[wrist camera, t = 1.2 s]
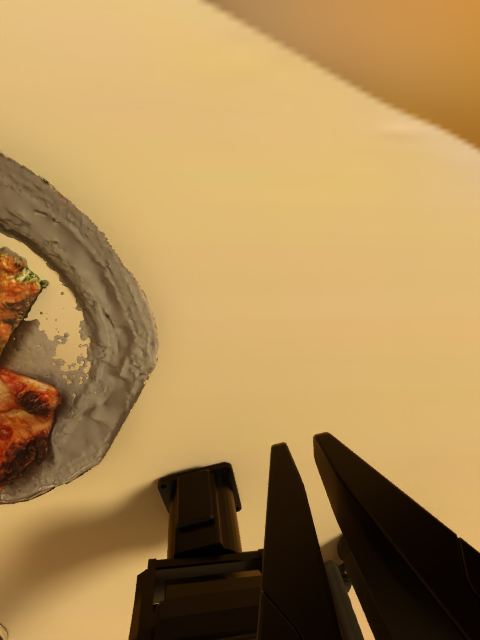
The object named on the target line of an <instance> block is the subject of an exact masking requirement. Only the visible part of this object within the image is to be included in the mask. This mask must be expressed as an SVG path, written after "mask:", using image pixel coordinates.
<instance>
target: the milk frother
mask: <svg viewBox="0 0 480 640" xmlns="http://www.w3.org/2000/svg"><path fill="white" fill-rule="evenodd" d="M338 555H339V557H340V559H341V560H342V561H343V562H344V563H343V564H341V565H340V566H339V567H338V566H337V565H336V564H335V563H334V562H333V561H330V560H329V561H325V562H324V567H325V571H326V575H327V579H328V583H329V587H330V591H331V595H332V599H333V603H334V607H335V611H336V615H337V619H338V623H339V627H340V631H341V635H342V639H343V640H364V638H363V635H362V632H361V629H360V626H359V624H358V621H357V618H356V615H355V613H354V611H353V608H352V605H351V601H350V598H349V596H348V592H349V590H350V588H351V585H352V586H353V588H354V590H355V592H356V595H357V597H358V599H359V602H360V604H361V607H362V609H363V611H364V613H365V616H366V618H367V621H368V623H369V626H370V628H371V630H372V633H373V635H374V638H375V640H394V639H393V637H392V635H391V633H390V631H389V629H388V627H387V625H386V623H385V621H384V619H383V616H382V614H381V612H380V610H379V608H378V606H377V604H376V602H375V600H374V598H373V596H372V594H371V592H370V589H369V587H368V585H367V583H366V581H365V579H364V577H363V575H362V573H361V571H360V569H359V567H358V565H357V562H356V560H355V558H354V556H353V554H352V552H351V550H350V548H349V546H348V544H347V542H346V540H345V537H344V538H343V540H342V541H341V542H340V544H339V546H338ZM345 570H346V572H347V574H346V573H343V572H344V571H345Z"/></svg>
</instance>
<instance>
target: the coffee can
mask: <svg viewBox="0 0 480 640" xmlns="http://www.w3.org/2000/svg"><path fill="white" fill-rule="evenodd" d="M7 639H8V633H7V631H6V630H5V628H4V627H3V626H2V625H1V624H0V640H7Z"/></svg>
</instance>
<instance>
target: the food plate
mask: <svg viewBox="0 0 480 640" xmlns="http://www.w3.org/2000/svg"><path fill="white" fill-rule="evenodd" d="M42 178H43V177H42ZM42 178H41V177H40V176H37V175H35V174H34V173H33V172H32V171H31V170H29V169H27V167H25V166H24V165H23V166H21V165H20V164H19V163H17V162H16V161H14V160H13V159H12V158H9V157H8V156H6V155H4V154H2V153H1V152H0V232H1V233H3V234H4V235H6V236H7V237H10V238H15V239H16V240H18V241H20V242H22V243H24V244H25V245H27V246H28V247H29V248H30V249H31V250H32V251H33V252H34V253H35V254H37V255H38V256H40V257H41V258H43V259H44V261H47V263H46V265H47V266H48V267H49V268H50V269H52V270H54V271H56V272H57V273H59V274H60V282H62V283H63V284H62V285H64V286H66V287H68V288H70V289H71V290H72V291H73V292H74V295H75V297H76V303H77V307H76V308H75V309H77V310H78V311H82V310H83V311H82V312H83V316H84V319H85V320H83V321H80V325H79V327H81V330H79V333H80V334H81V335H80V337H81V340H83V341H84V340H86V339H87V337H89V338H90V339H91V343H89V344H90V345H89V347H88V348H87V358H84V357H83V356H81V357H79V356H78V357H77V363H79V364H80V363H81V361H82V360H83V361H84V365H83V366H80V367H79V369H78V371H69V372H63V371H61V370H60V367H61V366H62V365H64V363H65V361H64V360H62V359H53V358H52V357H54V356H55V355H56V347H57V345H58V344H65V342H66V341H67V336H69V333H65V334H64V336H59V335H56V336H55V340H54V341H51V340H49V339H48V338H47V335H46V334H45V333H44V330H42V331H39V330H38V328H39V325H40V322H39V321H38V320H37V319H35V320H32V321H25V320H24V318H27V317H28V316H27V315H28V313H29V312H30V310H31V307H32V305H33V304H34V303H35V301H36V300H37V297H38V295H39V294H40V293H41V292H42V289H43V288H46V287H47V286H48V284H49V283H50V282H49V281H47V280H44V281H42V280H40V278H39V277H38V276H37V275H36V274H34V273H33V272H32V271H30V270H29V269H28V267H27V261H26V259H25V258H23V257H21V256H19V255H18V254H17V253H15V252H13V251H11V250H10V249H9V248H7V247H3V248H1V249H0V505H1V504H14V503H18V502H25V501H29V500H31V499H34V498H36V497H39V496H41V495H43V494H45V493H47V492H49V491H51V490H52V489H54V488H55V487H56V486H60V485H62V484H68V483H70V482H71V481H73V480H75V479H76V478H78V477H80V476H81V475H83V474H84V473H85V472H87V471H88V470H90V469H91V468H93V467H94V466H96V465H98V464H99V463H100V462H101V461H102V459H103V458H104V456H105V455H106V452H108V450H109V448H110V446H111V444H112V443H113V440H114V439H115V437H116V436H117V434H118V432H119V431H120V428H121V426H122V424H123V423H124V422H125V420H126V418H127V416H128V415H129V413H130V410H131V409H132V407H133V405H134V403H136V401H137V399H138V397H139V395H140V393H141V391H142V389H143V388H144V386H145V385H144V383H143V382H144V381H145V380H146V379H147V380H148V378H149V377H150V376H148V375H149V373H152V372H151V370H152V369H153V370H154V368H155V366H156V363H157V361H158V358H157V356H158V354H157V351H158V339H157V327H156V326H155V325H156V324H155V319H154V317H153V312H152V310H151V308H150V306H149V304H148V302H147V298H146V295H145V293H144V292H143V290H142V289H140V286H138V282H137V281H136V280H135V278H134V277H133V274H132V273H131V272H129V271H128V270H127V268H125V267H124V266H123V264H122V263H121V260H120V258H119V257H118V255H117V254H116V253H115V252H114V251H115V250H114V249H112V246H111V245H110V244H109V242H107V240H108V239H107V238H106V237H105V234H104V233H103V232H101V231H100V230H98V227H97V226H96V225H94V223H91V220H90V219H89V218H88V216H86V215H85V214H83V213H82V212H81V211H79V210H78V209H77V208H76V206H74V205H73V204H72V203H71V201H70V200H69V201H68V199H66V198H65V197H63V195H62V194H60V193H59V192H58V191H57V190H56V189H55V188H54V186H51V185H50V183H49V182H48V181H47V182H46V180H45V179H44V178H43V179H42ZM48 183H49V184H48ZM63 294H65V293H64V292H62V293H61V295H63ZM63 309H64V308H63ZM40 314H43V313H42V312H40ZM46 314H47V313H46ZM46 319H47V318H46ZM55 321H57V319H56V320H55ZM34 325H35V326H34ZM56 330H57V329H56ZM77 330H78V329H77ZM58 333H59V331H58ZM14 338H15V340H14ZM58 339H61V340H62V342H60V341H57V340H58ZM38 345H40V346H38ZM81 346H88V345H87V344H85V345H81V344H80V345H79V347H80V348H81ZM15 348H16V349H15ZM81 355H82V354H81ZM87 361H90V362H91V367H90V370H89V372H88V373H85V372H84V371H83V369H84V368H85V367H87V364H86V363H87ZM52 362H54V363H55V364H56V365H53V364H52ZM75 365H76V364H74V363H73V364H72V365H71V366H73V367H74V366H75ZM68 367H69V369H70V368H71V367H70V365H68ZM153 370H152V371H153ZM86 374H88V375H89V379H86V377H87V375H86ZM62 375H67V377H68V378H67V379H70V380H71V381H72V383H71V384H70V385H67V384H66V382H67V380H66V379H65V378H63V376H62ZM72 375H75V377H73V376H72ZM150 375H151V374H150ZM80 376H81V377H83V379H82V381H83V383H82V384H80V385H79V384H78V383H79V382H80V378H79V377H80ZM145 384H146V383H145ZM95 391H97V393H96V394H94V392H95ZM73 393H75V394H76V397H75V399H73V398H74V396H72V395H73ZM74 400H75V401H74Z"/></svg>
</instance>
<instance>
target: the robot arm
mask: <svg viewBox="0 0 480 640" xmlns="http://www.w3.org/2000/svg"><path fill="white" fill-rule="evenodd" d="M313 447H314V458H315V462H316V465H317V468H318V471H319V474H320V476H321V479H322V482H323V485H324V487H325V490H326V493H327V496H328V498H329V501H330V504H331V507H332V509H333V512H334V515H335V517H336V520H337V522H338V525H339V527H340V529H341V531H342V533H343V535H344V537H345V540H346V542H347V544H348V546H349V548H350V550H351V552H352V554H353V556H354V558H355V560H356V562H357V565H358V567H359V569H360V571H361V573H362V575H363V577H364V579H365V581H366V583H367V585H368V587H369V589H370V592H371V594H372V596H373V598H374V600H375V602H376V604H377V606H378V608H379V610H380V612H381V614H382V616H383V619H384V621H385V623H386V625H387V627H388V629H389V631H390V633H391V635H392V637H393V639H394V640H480V553H479V552H478V551H477V550H476V549H474V548H473V547H472V546H471V545H469V544H468V543H467V542H466V541H464V540H463V539H462V538H460V537H459V538H458V537H457V535H456V533H454V532H453V531H452V530H450V529H449V528H448V527H447V526H445V525H444V524H443V523H442V522H440V521H439V520H438V519H437V518H435V517H434V516H433V515H432V514H430V513H429V512H428V511H427V510H425V509H424V508H423V507H422V506H420V505H419V504H418V503H417V502H415V501H414V500H413V499H412V498H410V497H409V496H408V495H407V494H405V493H404V492H403V491H402V490H400V489H399V488H398V487H397V486H395V485H394V484H393V483H392V482H390V481H389V480H388V479H387V478H385V477H384V476H383V475H381V474H380V473H379V472H378V471H376V470H375V469H374V468H373V467H371V466H370V465H369V464H368V463H366V462H365V461H364V460H363V459H361V458H360V457H359V456H358V455H356V454H355V453H354V452H353V451H351V450H350V449H349V448H348V447H346V446H345V445H344V444H343V443H341V442H340V441H339V440H338V439H336V438H335V437H334V436H333V435H331V434H330V433H328V432H324V433H319V434H316V435H314V437H313ZM158 489H159V492H160V494H161V496H162V499H163V501H164V503H165V506H166V508H167V510H168V513H169V527H168V550H167V559H162V560H156V559H149V560H148V569H146V570H145V571H144V572H142V573H140V574H139V575H137V584H136V592H135V600H134V608H133V614H132V620H131V627H130V633H129V639H128V640H343V639H342V635H341V631H340V627H339V623H338V619H337V615H336V611H335V607H334V603H333V599H332V595H331V591H330V587H329V583H328V579H327V575H326V571H325V567H324V563H323V559H322V555H321V551H320V547H319V543H318V539H317V535H316V531H315V527H314V523H313V519H312V515H311V511H310V507H309V503H308V499H307V495H306V491H305V488H304V484H303V482H302V479H301V476H300V474H299V472H298V469H297V467H296V465H295V462H294V460H293V458H292V455H291V453H290V451H289V448H288V446H287V444H286V443H285V442H282V443H278V444H274V445H272V446H271V455H270V469H269V483H268V497H267V511H266V525H265V539H264V549H258V551H249V552H242V547H241V541H240V534H239V527H238V521H237V514H236V512H238V511H240V510H241V508H242V507H241V502H240V498H239V493H238V489H237V485H236V481H235V477H234V473H233V468H232V465H231V464H230V463H224V464H220V465H216V466H212V467H208V468H204V469H199V470H195V471H191V472H187V473H183V474H179V475H175V476H171V477H167V478H163V479H160V480H159V481H158ZM156 603H159V604H156Z"/></svg>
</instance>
